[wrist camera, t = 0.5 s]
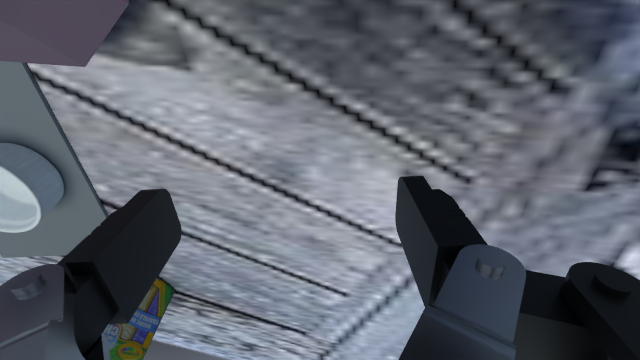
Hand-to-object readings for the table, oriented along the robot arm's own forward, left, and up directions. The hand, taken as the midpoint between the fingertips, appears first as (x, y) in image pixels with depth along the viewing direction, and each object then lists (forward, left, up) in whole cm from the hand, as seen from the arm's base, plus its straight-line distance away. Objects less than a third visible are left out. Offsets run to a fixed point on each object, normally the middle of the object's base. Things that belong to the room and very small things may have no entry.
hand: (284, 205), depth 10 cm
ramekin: (+9, -31, -19) cm, 37 cm away
